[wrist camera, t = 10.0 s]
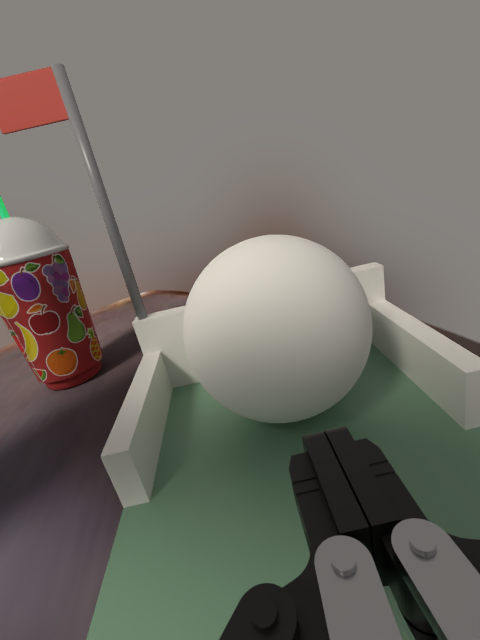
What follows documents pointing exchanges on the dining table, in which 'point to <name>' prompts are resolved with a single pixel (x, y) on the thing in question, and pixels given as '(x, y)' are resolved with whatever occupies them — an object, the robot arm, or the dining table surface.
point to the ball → (277, 329)
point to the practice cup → (250, 443)
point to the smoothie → (45, 304)
